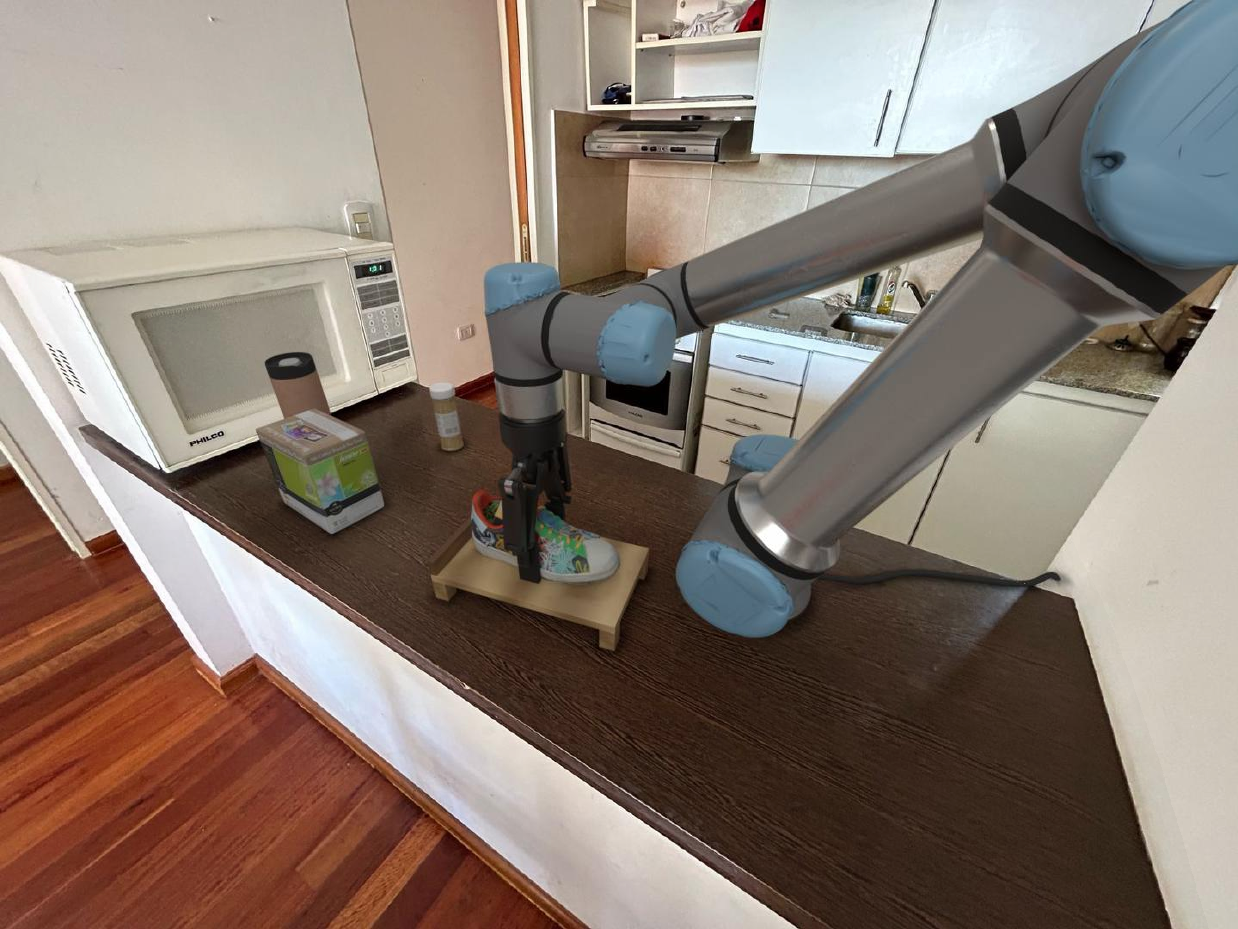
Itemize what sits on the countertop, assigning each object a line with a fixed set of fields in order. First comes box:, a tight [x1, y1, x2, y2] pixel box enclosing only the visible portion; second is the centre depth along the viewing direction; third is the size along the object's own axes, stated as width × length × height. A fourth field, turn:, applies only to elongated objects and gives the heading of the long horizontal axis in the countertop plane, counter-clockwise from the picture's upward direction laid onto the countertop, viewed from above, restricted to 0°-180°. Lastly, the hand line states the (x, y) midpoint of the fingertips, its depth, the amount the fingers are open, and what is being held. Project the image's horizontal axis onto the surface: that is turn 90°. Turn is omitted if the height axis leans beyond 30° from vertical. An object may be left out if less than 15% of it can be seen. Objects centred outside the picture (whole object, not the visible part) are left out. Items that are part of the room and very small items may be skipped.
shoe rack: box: [426, 515, 650, 652], centre depth 71 cm, size 26×15×7 cm, turn 71°
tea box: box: [255, 409, 385, 535], centre depth 83 cm, size 15×10×15 cm
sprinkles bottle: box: [428, 381, 464, 452], centre depth 101 cm, size 5×5×13 cm
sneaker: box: [470, 489, 620, 585], centre depth 68 cm, size 8×22×10 cm, turn 71°
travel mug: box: [264, 351, 333, 419], centre depth 96 cm, size 8×8×20 cm
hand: (544, 559), depth 70 cm, fingers closed on sneaker, 7 cm apart
